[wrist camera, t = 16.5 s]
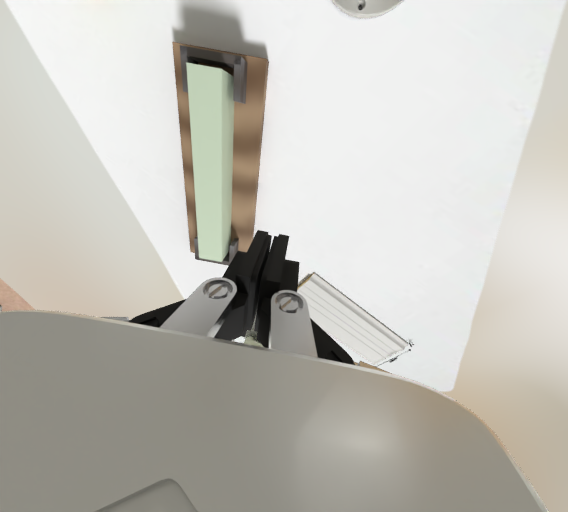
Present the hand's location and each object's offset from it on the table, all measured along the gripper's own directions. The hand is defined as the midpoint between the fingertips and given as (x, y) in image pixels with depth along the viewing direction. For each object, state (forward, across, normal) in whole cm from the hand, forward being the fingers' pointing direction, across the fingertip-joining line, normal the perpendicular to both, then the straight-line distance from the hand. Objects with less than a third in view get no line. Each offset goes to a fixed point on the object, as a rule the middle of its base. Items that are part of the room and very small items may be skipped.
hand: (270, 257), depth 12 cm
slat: (+26, +12, +3) cm, 28 cm away
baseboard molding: (+28, -18, +31) cm, 45 cm away
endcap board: (+27, +12, +3) cm, 30 cm away
